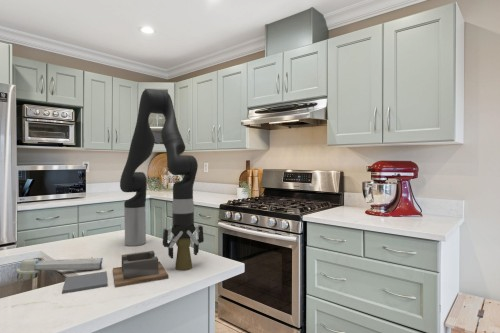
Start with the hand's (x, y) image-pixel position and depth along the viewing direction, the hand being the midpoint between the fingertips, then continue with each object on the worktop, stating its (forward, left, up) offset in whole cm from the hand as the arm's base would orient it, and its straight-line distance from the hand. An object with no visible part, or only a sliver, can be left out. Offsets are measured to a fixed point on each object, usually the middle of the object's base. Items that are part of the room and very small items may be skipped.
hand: (183, 256), depth 112 cm
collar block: (0, -15, -4) cm, 16 cm away
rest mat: (0, -31, -4) cm, 31 cm away
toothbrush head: (-13, -39, -5) cm, 41 cm away
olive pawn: (0, 0, -4) cm, 4 cm away
